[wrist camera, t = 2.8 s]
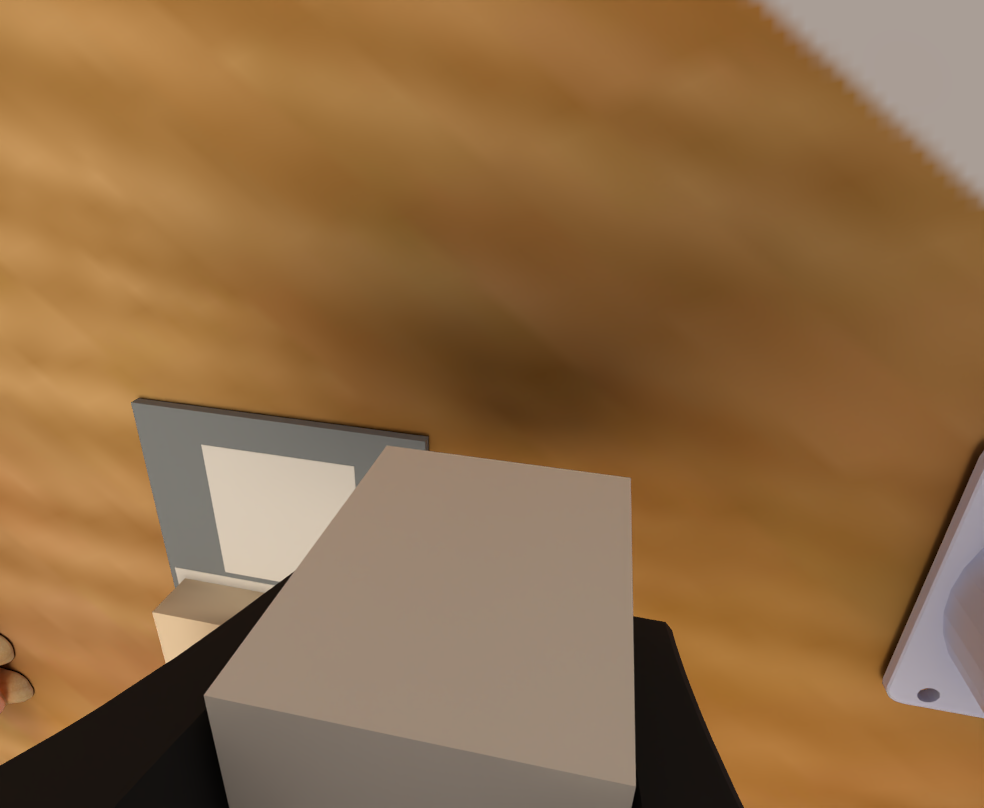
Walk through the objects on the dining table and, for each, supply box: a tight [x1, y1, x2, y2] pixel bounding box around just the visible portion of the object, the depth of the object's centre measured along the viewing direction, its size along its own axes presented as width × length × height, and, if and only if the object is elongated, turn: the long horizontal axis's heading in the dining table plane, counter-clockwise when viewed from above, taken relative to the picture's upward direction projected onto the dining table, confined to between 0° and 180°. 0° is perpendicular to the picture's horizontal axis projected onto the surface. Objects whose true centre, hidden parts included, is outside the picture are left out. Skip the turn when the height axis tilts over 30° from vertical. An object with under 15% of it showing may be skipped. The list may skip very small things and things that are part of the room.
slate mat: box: [131, 398, 428, 593], centre depth 20 cm, size 9×14×1 cm, turn 179°
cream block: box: [204, 446, 636, 808], centre depth 9 cm, size 4×4×5 cm
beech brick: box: [152, 578, 264, 663], centre depth 20 cm, size 8×5×2 cm, turn 89°
